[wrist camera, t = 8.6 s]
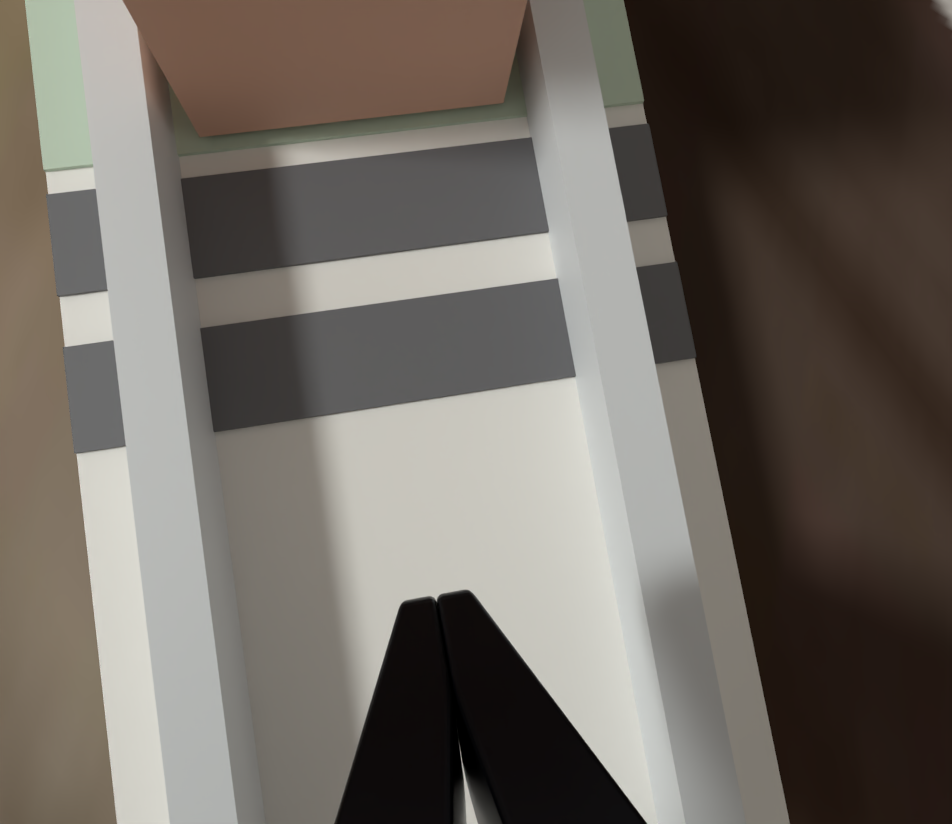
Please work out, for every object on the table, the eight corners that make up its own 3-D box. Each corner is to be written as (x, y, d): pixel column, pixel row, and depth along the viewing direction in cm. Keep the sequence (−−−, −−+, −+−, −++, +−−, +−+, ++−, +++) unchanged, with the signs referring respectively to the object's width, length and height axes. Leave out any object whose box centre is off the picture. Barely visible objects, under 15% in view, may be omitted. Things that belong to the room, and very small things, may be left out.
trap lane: (769, 827, 15) (1077, 1099, 8) (156, 967, 14) (-99, 1431, 7) (578, -123, 17) (690, -539, 10) (38, -80, 16) (-242, -524, 9)
